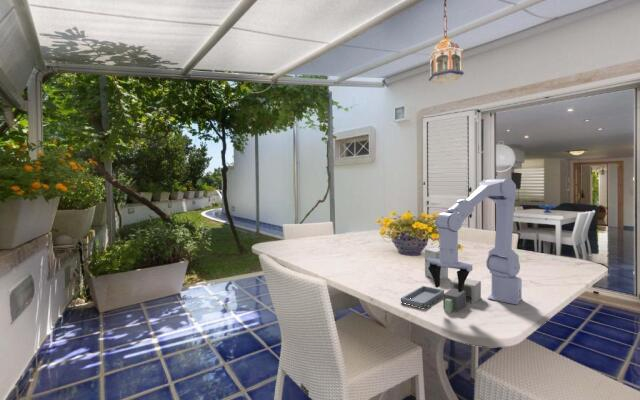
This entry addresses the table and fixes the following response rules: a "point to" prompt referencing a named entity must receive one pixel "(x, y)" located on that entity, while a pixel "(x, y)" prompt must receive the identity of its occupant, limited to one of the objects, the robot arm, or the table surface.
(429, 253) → the supplement box
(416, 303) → the tray
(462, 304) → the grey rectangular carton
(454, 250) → the robot arm
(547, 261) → the table surface
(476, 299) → the sleeve
